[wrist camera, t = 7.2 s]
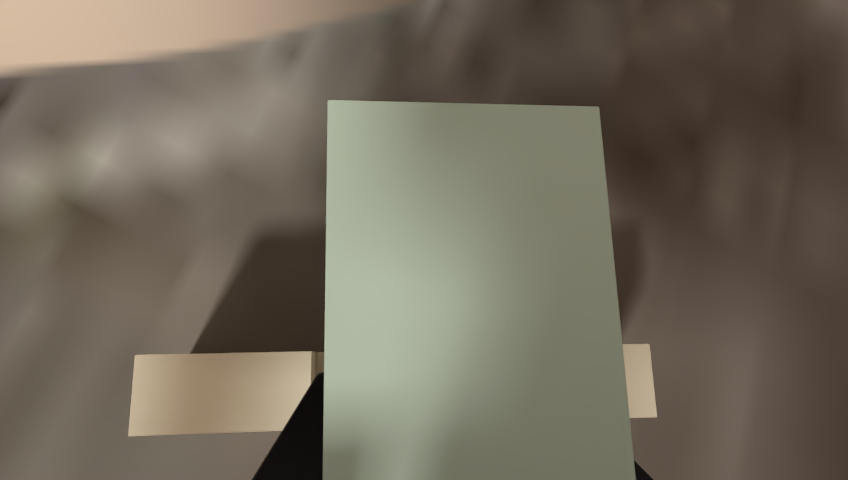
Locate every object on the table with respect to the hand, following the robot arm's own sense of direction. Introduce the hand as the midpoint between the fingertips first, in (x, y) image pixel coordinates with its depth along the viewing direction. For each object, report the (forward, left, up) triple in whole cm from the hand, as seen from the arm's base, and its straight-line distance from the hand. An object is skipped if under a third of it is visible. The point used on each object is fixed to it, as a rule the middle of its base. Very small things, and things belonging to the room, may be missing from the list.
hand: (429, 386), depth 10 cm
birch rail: (0, 0, -10) cm, 10 cm away
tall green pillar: (0, 0, -7) cm, 7 cm away
